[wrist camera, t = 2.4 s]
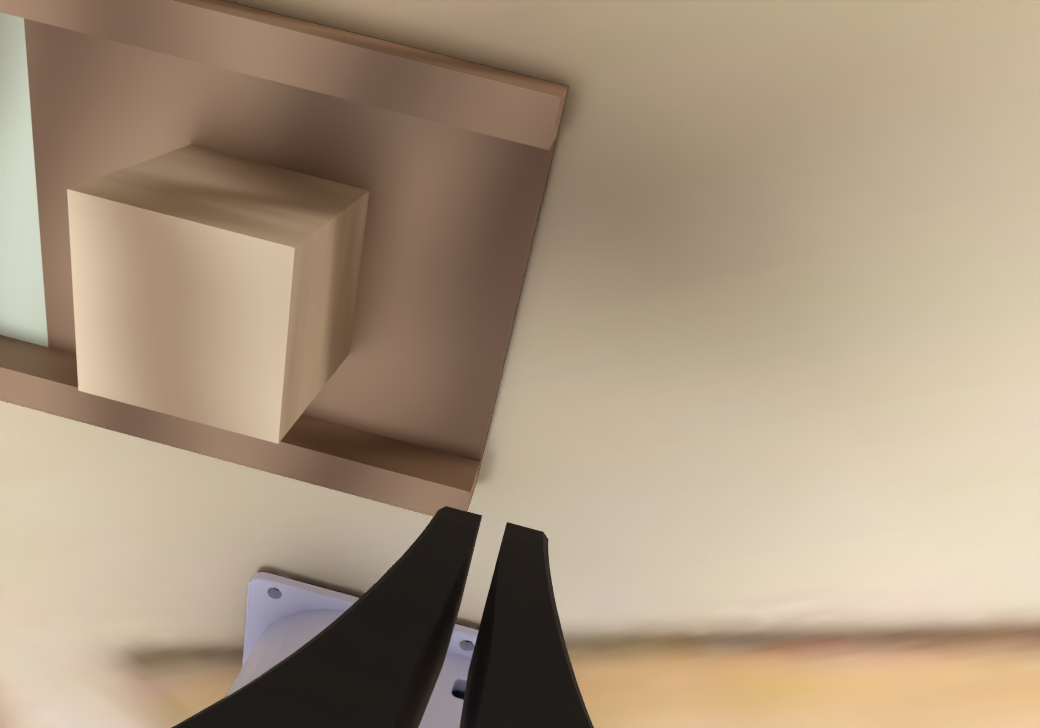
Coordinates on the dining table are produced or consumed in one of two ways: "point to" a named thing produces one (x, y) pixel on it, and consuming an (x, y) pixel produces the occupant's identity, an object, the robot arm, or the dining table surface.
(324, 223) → the maple block
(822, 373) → the dining table surface
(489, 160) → the walled channel
